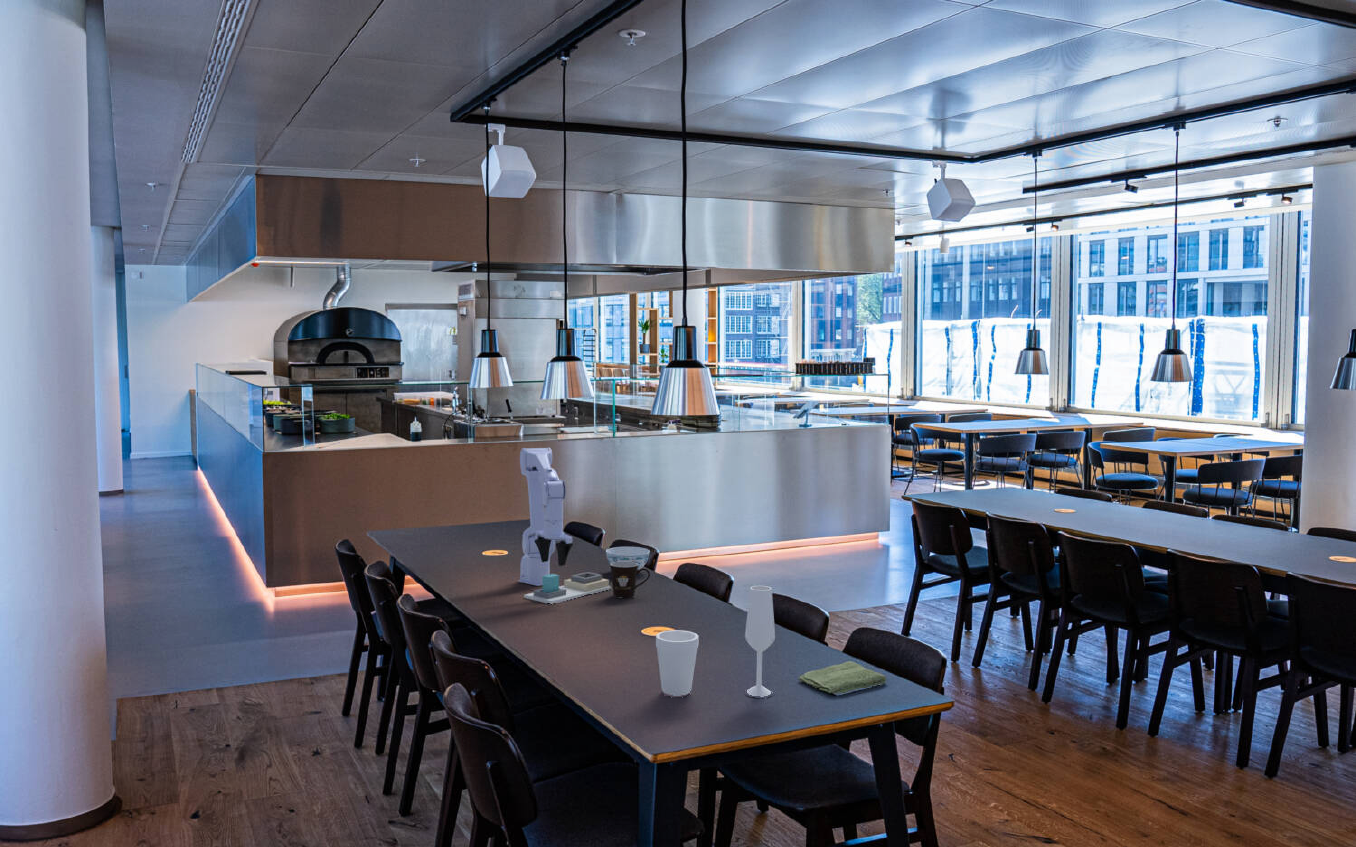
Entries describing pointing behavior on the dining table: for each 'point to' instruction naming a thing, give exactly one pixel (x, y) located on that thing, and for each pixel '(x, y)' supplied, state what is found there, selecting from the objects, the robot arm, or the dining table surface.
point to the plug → (550, 583)
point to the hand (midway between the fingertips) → (553, 563)
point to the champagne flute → (760, 630)
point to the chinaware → (628, 555)
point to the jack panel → (572, 588)
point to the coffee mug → (625, 578)
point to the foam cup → (676, 660)
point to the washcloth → (843, 678)
